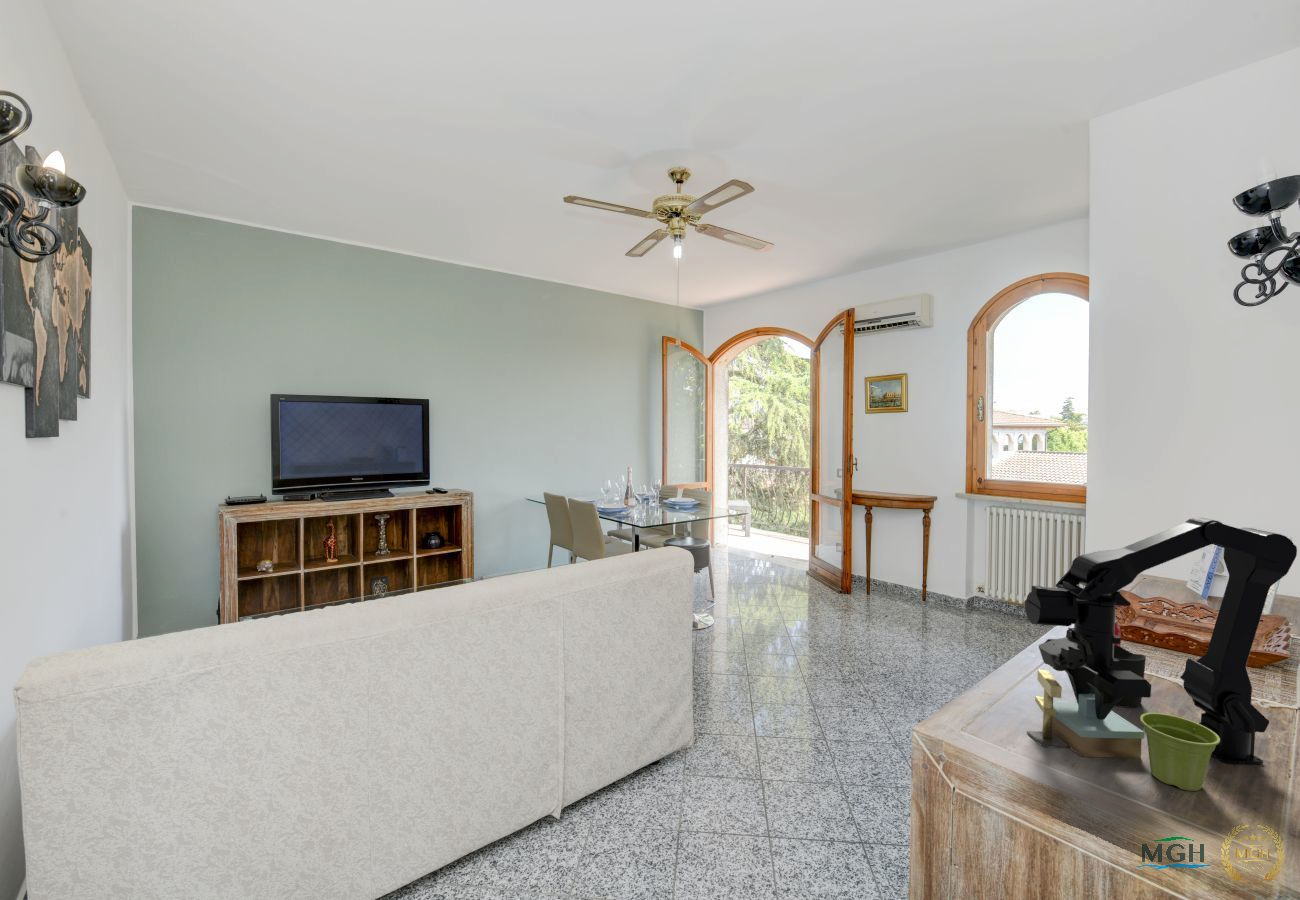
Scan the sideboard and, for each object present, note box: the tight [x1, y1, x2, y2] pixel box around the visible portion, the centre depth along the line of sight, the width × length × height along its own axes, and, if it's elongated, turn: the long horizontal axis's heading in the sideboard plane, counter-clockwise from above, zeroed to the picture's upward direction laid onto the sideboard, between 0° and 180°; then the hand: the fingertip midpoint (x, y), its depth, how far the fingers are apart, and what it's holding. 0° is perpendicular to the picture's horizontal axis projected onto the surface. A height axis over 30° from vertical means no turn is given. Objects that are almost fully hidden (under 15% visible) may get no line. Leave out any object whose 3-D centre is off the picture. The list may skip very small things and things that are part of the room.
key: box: [1034, 669, 1063, 740], centre depth 104 cm, size 8×2×11 cm, turn 162°
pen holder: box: [1090, 645, 1147, 708], centre depth 119 cm, size 9×9×10 cm
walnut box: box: [1026, 716, 1143, 759], centre depth 103 cm, size 15×10×4 cm
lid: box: [1053, 694, 1145, 739], centre depth 103 cm, size 10×10×5 cm
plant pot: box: [1139, 712, 1220, 792], centre depth 92 cm, size 9×9×9 cm
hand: (1090, 712), depth 103 cm, fingers open, 4 cm apart
